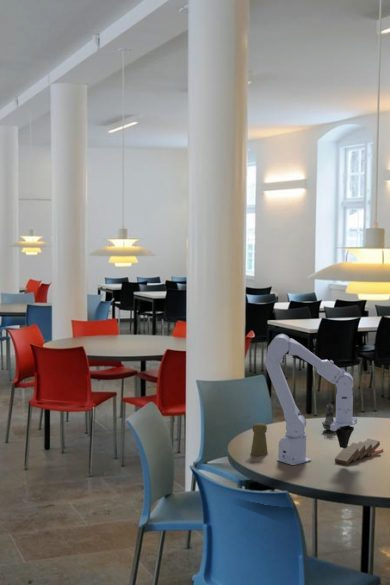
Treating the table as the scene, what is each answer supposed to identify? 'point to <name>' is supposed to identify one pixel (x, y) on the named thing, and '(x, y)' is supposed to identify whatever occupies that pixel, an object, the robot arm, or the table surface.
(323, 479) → the table surface
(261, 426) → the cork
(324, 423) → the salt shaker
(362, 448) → the tile
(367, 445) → the tile
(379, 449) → the tile
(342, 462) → the tile
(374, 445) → the tile
